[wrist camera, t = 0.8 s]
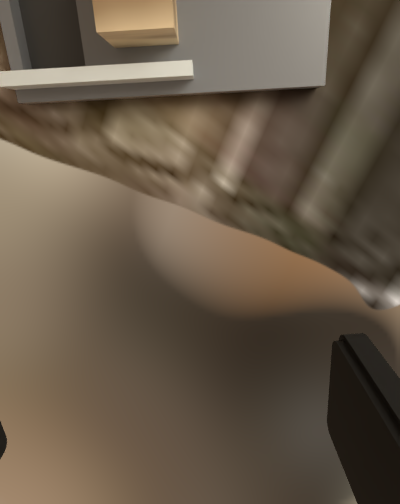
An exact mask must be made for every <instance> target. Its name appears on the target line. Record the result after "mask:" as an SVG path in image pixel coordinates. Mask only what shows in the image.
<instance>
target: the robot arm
mask: <svg viewBox="0 0 400 504" xmlns="http://www.w3.org/2000/svg"><path fill="white" fill-rule="evenodd" d="M327 424H328V430H329V434H330V436H331V439H332V441H333V444H334V446H335V449H336V451H337V454H338V456H339V459H340V461H341V464H342V466H343V469H344V471H345V474H346V476H347V479H348V481H349V484H350V486H351V489H352V491H353V493H354V496H355V498H356V501H357V503H358V504H400V379H399V377H398V376H397V375H396V373H395V372H394V371H393V369H392V368H391V367H390V366H389V364H388V363H387V361H386V360H385V359H384V357H383V356H382V355H381V353H380V352H379V351H378V349H377V348H376V347H375V346H374V344H373V343H372V342H371V340H370V339H369V338H368V336H367V335H366V334H363V333H361V334H346V335H341V336H340V338H339V341H334V342H333V344H332V355H331V370H330V385H329V400H328V414H327ZM6 444H7V438H6V435H5V432H4V430H3V427H2V425H1V422H0V459H1V457H2V455H3V453H4V451H5V449H6Z"/></svg>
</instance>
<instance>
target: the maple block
mask: <svg viewBox="0 0 400 504" xmlns="http://www.w3.org/2000/svg"><path fill="white" fill-rule="evenodd" d="M92 3H93V11H94V18H95V25H96V32H97V33H98V34H99V35H100V36H101V37H102V38H104V39H105V40H106V41H107V42H108V43H110V44H111V45H112V46H113V47H114V48H125V47H141V46H157V45H174V44H179V36H178V20H177V5H176V0H92Z"/></svg>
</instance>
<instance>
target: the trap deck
mask: <svg viewBox="0 0 400 504" xmlns="http://www.w3.org/2000/svg"><path fill="white" fill-rule="evenodd" d="M176 5H177V20H178V36H179V44H174V45H157V46H141V47H125V48H114V47H113V46H112V45H111V44H110V43H108V42H107V41H106V40H105V39H104V38H102V37H101V36H100V35H99V34H98V33H97V32H96V25H95V18H94V11H93V3H92V0H0V23H1V28H2V32H3V37H4V41H5V46H6V50H7V55H8V59H9V64H10V69H11V71H0V87H2V88H8V89H14V90H15V91H16V96H17V100H18V103H21V104H44V103H62V102H79V101H96V100H114V99H131V98H148V97H166V96H183V95H201V94H218V93H235V92H253V91H270V90H288V89H305V88H318V87H322V86H325V79H326V64H327V50H328V36H329V21H330V7H331V0H176Z"/></svg>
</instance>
